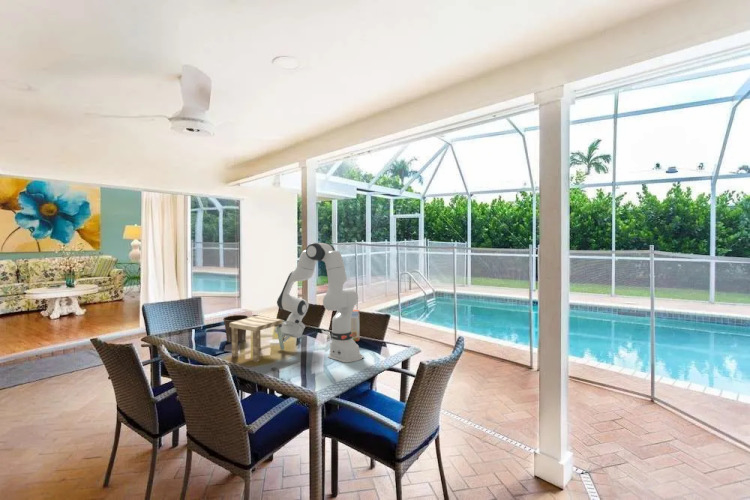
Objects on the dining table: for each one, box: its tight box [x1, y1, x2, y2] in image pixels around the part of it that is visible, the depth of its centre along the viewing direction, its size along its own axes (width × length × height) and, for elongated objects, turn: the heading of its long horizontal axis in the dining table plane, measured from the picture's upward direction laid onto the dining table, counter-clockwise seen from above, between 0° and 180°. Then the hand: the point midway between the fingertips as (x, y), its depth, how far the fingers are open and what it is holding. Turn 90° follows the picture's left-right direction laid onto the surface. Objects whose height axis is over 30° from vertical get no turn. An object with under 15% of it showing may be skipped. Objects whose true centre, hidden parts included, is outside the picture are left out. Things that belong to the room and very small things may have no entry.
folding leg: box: [275, 325, 285, 351], centre depth 235 cm, size 2×2×17 cm
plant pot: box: [222, 314, 249, 344], centre depth 260 cm, size 16×16×16 cm
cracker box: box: [350, 309, 361, 342], centre depth 260 cm, size 14×6×21 cm, turn 84°
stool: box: [229, 315, 284, 363], centre depth 230 cm, size 22×22×20 cm
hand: (282, 341), depth 237 cm, fingers closed, pressing on folding leg
